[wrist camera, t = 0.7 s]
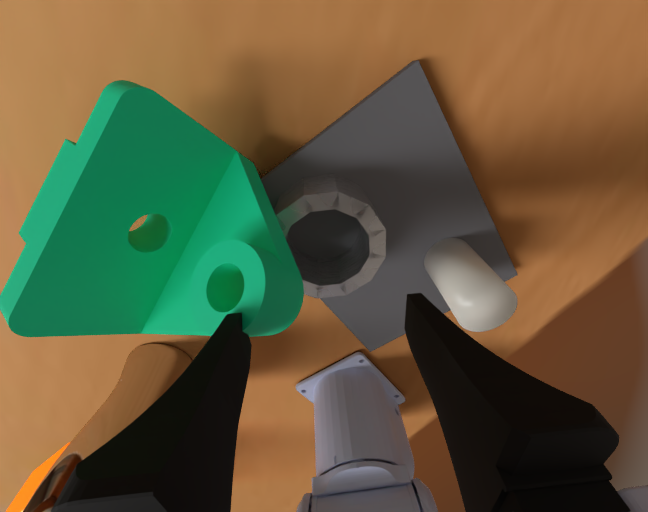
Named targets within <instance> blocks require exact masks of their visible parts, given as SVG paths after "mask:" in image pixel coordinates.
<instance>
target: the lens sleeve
mask: <svg viewBox="0 0 648 512" xmlns="http://www.w3.org/2000/svg"><path fill="white" fill-rule="evenodd" d="M332 209H336V210H338V211H341V212H343V213H346V214H348V215H350V216H353V217H355V218H357V219H358V221H359V222H360V225H361V231H360V233H359V235H358V236H357V238H356V240H355V242H354V244H353V245H352V247H350V248H349V249H347V250H345V251H344V252H342V253H341V254H339V255H338V256H334V257H325V258H316V257H313V256H310V255H307V254H304V253H302V252H300V251H299V250H298V249H297V248H296V246H295V245H294V244H293V243H292V242H291V241H290V240H289V238H288V231H289V229H290V227H291V225H293V224H294V223H295V222H297V221H298V220H300V219H301V218H303V217H304V216H305V215H307V214H308V213H310V212H314V211H323V210H332ZM274 213H275V215H276V217H277V220H278V222H279V224H280V227H281V229H282V231H283V234H284V236H285V239H286V241H287V243H288V246H289V248H290V250H291V253H292V255H293V258H294V260H295V262H296V265H297V267H298V269H299V272H300V274H301V277H302V281H303V287H304V294H305V295H308V296H311V297H315V298H326V297H335V296H344V295H348V294H349V293H351V292H353V291H354V290H356V289H358V288H359V287H361V286H363V285H364V284H366V283H368V282H369V281H371V280H372V278H373V276H374V275H375V273H376V272H377V270H378V269H379V267H380V265H381V264H382V262H383V261H384V259H385V257H386V229H385V227H384V225H383V223H382V221H381V219H380V217H379V215H378V214H377V212H376V210H375V208H374V206H373V205H372V203H371V202H370V200H369V199H368V197H367V196H366V194H365V193H364V191H363V190H362V189H361V187H360V186H359V185H357V184H355V183H353V182H351V181H348V180H346V179H344V178H341V177H339V176H337V175H335V174H327V175H319V176H310V177H304V178H302V179H300V180H299V181H298V182H296V183H295V184H294V185H292V186H291V187H290V188H288V189H287V190H286V191H284V192H283V193H282V194H280V196H279V199H278V202H277V204H276V207H275V209H274Z"/></svg>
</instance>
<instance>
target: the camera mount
mask: <svg viewBox="0 0 648 512" xmlns="http://www.w3.org/2000/svg"><path fill="white" fill-rule="evenodd" d="M147 214H148V215H147ZM144 215H147V218H146V220H145V222H144V223H143V224H142V225H141V226H140V227H139V228H137V229H135V230H133V231H130V232H129V229H130V227H131V226H132V224H133V223H134V222H135V221H136V220H137V219H139V218H140V217H142V216H144ZM19 234H20V236H21V237H22V238H23V240H24V241H25V242H26V245H25V247H24V249H23V251H22V253H21V255H20V257H19V259H18V261H17V263H16V265H15V267H14V269H13V271H12V273H11V275H10V277H9V279H8V281H7V283H6V285H5V287H4V289H3V291H2V293H1V295H0V310H1V312H2V314H3V316H4V318H5V320H6V321H7V323H8V325H9V327H10V329H11V330H12V331H13V332H14V333H16V334H18V335H20V336H25V337H47V336H78V335H110V334H173V335H206V336H212V335H213V333H214V332H215V331H216V329H217V328H218V326H219V325H220V323H221V322H222V320H223V319H224V318H225V316H226V315H227V314H231V313H242V331H243V332H244V333H246V334H248V335H249V337H253V336H269V335H275V334H278V333H280V332H282V331H284V330H285V329H287V328H288V327H289V326H290V325H291V324H292V323H293V321H294V320H295V319H296V317H297V316H298V313H299V311H300V309H301V306H302V302H303V296H304V287H303V281H302V277H301V274H300V272H299V269H298V267H297V265H296V262H295V260H294V258H293V255H292V253H291V250H290V248H289V246H288V243H287V241H286V239H285V236H284V234H283V231H282V229H281V227H280V224H279V222H278V220H277V217H276V215H275V213H274V210H273V208H272V205H271V203H270V201H269V198H268V196H267V194H266V191H265V189H264V186H263V184H262V182H261V179H260V177H259V175H258V172H257V170H256V167H255V165H254V163H253V162H251V161H250V160H249V159H247V158H246V157H244V156H243V155H242V154H240V153H239V152H238V151H236V150H235V149H233V148H232V147H231V146H229V145H228V144H226V143H225V142H224V141H222V140H221V139H220V138H218V137H217V136H215V135H214V134H213V133H211V132H210V131H209V130H207V129H206V128H204V127H203V126H202V125H200V124H199V123H197V122H196V121H195V120H193V119H192V118H191V117H189V116H188V115H186V114H185V113H184V112H182V111H181V110H180V109H178V108H177V107H175V106H174V105H173V104H171V103H170V102H168V101H167V100H166V99H164V98H163V97H162V96H160V95H159V94H157V93H156V92H154V91H153V90H151V89H148V88H146V87H143V86H140V85H138V84H135V83H133V82H130V81H124V80H120V81H115V82H112V83H110V84H109V85H107V86H106V87H105V89H104V90H103V92H102V94H101V96H100V98H99V100H98V102H97V104H96V106H95V108H94V110H93V112H92V114H91V116H90V118H89V120H88V122H87V124H86V126H85V128H84V130H83V132H82V134H81V136H80V138H79V140H78V142H77V143H74V142H72V141H69V140H67V139H65V141H64V143H63V145H62V147H61V149H60V151H59V153H58V155H57V157H56V159H55V161H54V163H53V165H52V167H51V169H50V171H49V173H48V175H47V177H46V179H45V181H44V183H43V185H42V187H41V189H40V191H39V193H38V195H37V197H36V199H35V201H34V203H33V205H32V207H31V209H30V211H29V213H28V215H27V217H26V219H25V221H24V223H23V225H22V227H21V229H20V231H19Z"/></svg>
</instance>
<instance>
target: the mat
mask: <svg viewBox="0 0 648 512" xmlns="http://www.w3.org/2000/svg"><path fill="white" fill-rule="evenodd" d="M327 174H335V175H337V176H339V177H341V178H344V179H346V180H348V181H351V182H353V183H355V184H357V185H359V186H360V187H361V189H362V190H363V191H364V193H365V194H366V196H367V197H368V199H369V200H370V202H371V203H372V205H373V206H374V208H375V210H376V212H377V214H378V215H379V217H380V219H381V221H382V223H383V225H384V227H385V229H386V257H385V259H384V261H383V262H382V264H381V265H380V267H379V269H378V270H377V272H376V273H375V275H374V276H373V278H372V280H371V281H369V282H368V283H366V284H364V285H363V286H361V287H359V288H358V289H356V290H354V291H353V292H351V293H349V294H348V295H344V296H335V297H326V298H320V299H321V300H322V301H323V302H324V303H325V304H326V305H327V306H328V307H329V308H330V309H331V311H332V312H333V313H334V314H335V315H336V316H337V317H338V318H339V319H340V320H341V321H342V322H343V323H344V324H345V325H346V326H347V328H348V329H349V330H350V331H351V332H352V333H353V334H354V335H355V336H356V337H357V338H358V339H359V340H360V341H361V342H362V343H363V345H364V346H365V347H366V348H367V349H368V350H369V351H370V352H371V351H373V350H375V349H377V348H379V347H381V346H383V345H384V344H386V343H388V342H390V341H392V340H394V339H396V338H398V337H400V336H402V335H404V334H406V332H405V329H404V326H405V313H406V300H407V294H414V293H422V294H423V295H424V296H425V297H426V298H427V299H428V300H429V301H430V302H431V303H432V304H433V305H434V306H436V307H437V308H438V309H439V310H440V311H441V312H442V313H443V314H444V313H446V312H448V311H449V310H451V309H450V308H449V306H448V305H447V303H446V301H445V300H444V298H443V296H442V295H441V293H440V292H439V290H438V288H437V287H436V285H435V284H434V282H433V280H432V279H431V277H430V276H429V274H428V272H427V271H426V269H425V266H424V259H425V256H426V254H427V252H428V250H429V249H430V248H431V247H432V246H433V245H434V244H436V243H437V242H439V241H441V240H443V239H447V238H459V239H462V240H464V241H465V242H466V243H467V244H468V245H469V246H470V247H471V248H472V249H473V250H474V251H475V252H476V253H477V254H478V255H479V256H480V257H481V258H482V259H483V260H484V261H485V262H486V263H487V265H488V266H489V267H490V268H491V269H492V270H493V271H494V272H495V273H496V274H497V275H498V276H499V277H500V278H501V279H502V280H503V281H504V282H505V281H507V280H509V279H511V278H513V277H514V276H516V275H518V274H517V272H516V270H515V268H514V266H513V264H512V261H511V259H510V257H509V255H508V253H507V251H506V249H505V246H504V244H503V242H502V240H501V238H500V236H499V233H498V231H497V229H496V227H495V225H494V223H493V220H492V218H491V216H490V214H489V212H488V210H487V208H486V205H485V203H484V201H483V199H482V197H481V195H480V192H479V190H478V188H477V186H476V184H475V182H474V179H473V177H472V175H471V173H470V171H469V169H468V167H467V164H466V162H465V160H464V158H463V156H462V154H461V151H460V149H459V147H458V145H457V143H456V141H455V138H454V136H453V134H452V132H451V130H450V128H449V126H448V123H447V121H446V119H445V117H444V115H443V113H442V110H441V108H440V106H439V104H438V102H437V100H436V97H435V95H434V93H433V91H432V89H431V87H430V85H429V82H428V80H427V78H426V76H425V74H424V72H423V69H422V67H421V65H420V63H419V61H418V60H417V61H412V62H411V63H410V64H408V65H407V66H406V67H404V68H403V69H402V70H400V71H399V72H398V73H397V74H395V75H394V76H393V77H391V78H390V79H389V80H388V81H386V82H385V83H384V84H382V85H381V86H380V87H379V88H377V89H376V90H375V91H373V92H372V93H371V94H370V95H368V96H367V97H366V98H364V99H363V100H362V101H360V102H359V103H358V104H357V105H355V106H354V107H353V108H351V109H350V110H349V111H348V112H346V113H345V114H344V115H342V116H341V117H340V118H339V119H337V120H336V121H335V122H333V123H332V124H331V125H329V126H328V127H327V128H326V129H324V130H323V131H322V132H320V133H319V134H318V135H317V136H315V137H314V138H313V139H311V140H310V141H309V142H308V143H306V144H305V145H304V146H302V147H301V148H300V149H299V150H297V151H296V152H295V153H293V154H292V155H291V156H289V157H288V158H287V159H286V160H284V161H283V162H282V163H280V164H279V165H278V166H277V167H275V168H274V169H273V170H271V171H270V172H269V173H268V174H266V175H265V176H264V177H262V178H261V182H262V184H263V186H264V189H265V191H266V194H267V196H268V198H269V201H270V203H271V205H272V208H273V210H274V209H275V207H276V204H277V202H278V199H279V196H280V194H282V193H283V192H284V191H286V190H287V189H288V188H290V187H291V186H292V185H294V184H295V183H296V182H298V181H299V180H300V179H302V178H304V177H310V176H319V175H327ZM360 231H361V225H360V222H359V221H358V219H357V218H355V217H353V216H350V215H348V214H346V213H343V212H341V211H338V210H336V209H332V210H323V211H314V212H310V213H308V214H307V215H305V216H304V217H303V218H301V219H300V220H298V221H297V222H295V223H294V224H293V225H291V227H290V229H289V231H288V238H289V240H290V241H291V242H292V243H293V244H294V245H295V246H296V248H297V249H298V250H299V251H300V252H302V253H304V254H307V255H310V256H313V257H316V258H325V257H334V256H338V255H339V254H341V253H342V252H344V251H345V250H347V249H349V248H350V247H352V245H353V244H354V242H355V240H356V238H357V236H358V235H359V233H360Z"/></svg>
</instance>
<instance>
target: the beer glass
mask: <svg viewBox="0 0 648 512" xmlns="http://www.w3.org/2000/svg"><path fill="white" fill-rule="evenodd" d="M191 362H192V360H191V358H190V357H189V356H188V355H187V354H186V353H184V352H183V351H181V350H180V349H178V348H176V347H173V346H170V345H166V344H158V343H153V344H145V345H142V346H139V347H137V348H135V349H134V350H133V351H132V352H131V353H130V354H129V355H128V357H127V360H126V362H125V365H124V368H123V371H122V374H121V376H120V379H119V381H118V383H117V385H116V386H115V388H114V390H113V391H112V393H111V394H110V396H109V397H108V398H107V400H106V401H105V402H104V403H103V404H102V406H101V407H100V408H99V409H98V410H97V412H96V413H95V414H94V415H93V416H92V417H91V419H90V420H89V421H88V422H87V423H86V424H85V426H84V427H83V428H82V429H81V430H80V431H79V433H78V434H77V435H76V436H75V437H74V439H73V440H72V441H71V442H70V443H69V445H68V446H67V447H66V448H65V450H64V451H63V452H62V453H61V455H60V456H59V457H58V459H57V460H56V461H55V462H54V464H53V465H52V467H51V468H50V469H49V471H48V472H47V474H46V475H45V477H44V478H43V480H42V481H41V483H40V484H39V486H38V487H37V489H36V490H35V492H34V494H33V495H32V497H31V498H30V500H29V502H28V503H27V505H26V507H25V508H24V510H23V512H51V510H52V508H53V506H54V504H55V502H56V501H57V499H58V497H59V495H60V493H61V491H62V490H63V488H64V486H65V484H66V482H67V480H68V479H69V477H70V475H71V474H72V472H73V470H74V468H75V467H76V465H77V464H78V463H79V462H81V461H82V460H83V459H85V458H86V457H88V456H89V455H90V454H92V453H93V452H94V451H96V450H97V449H98V448H100V447H101V446H103V445H104V444H105V443H107V442H108V441H109V440H111V439H112V438H113V437H115V436H116V435H117V434H118V433H120V432H121V431H122V430H123V429H124V428H126V427H127V426H128V425H129V424H131V423H132V422H133V421H134V420H135V419H136V418H138V417H139V416H140V415H141V414H142V413H143V412H144V411H146V410H147V409H148V408H149V407H150V406H151V405H152V404H153V403H154V402H155V401H156V400H157V399H158V398H159V397H161V396H162V395H163V394H164V393H165V392H166V391H167V390H168V388H169V387H170V386H171V385H172V384H173V383H174V382H175V381H176V380H177V379H178V378H179V377H180V375H181V374H182V373H183V372H184V371H185V370H186V368H187V367H188V366H189V365H190V364H191Z"/></svg>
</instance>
